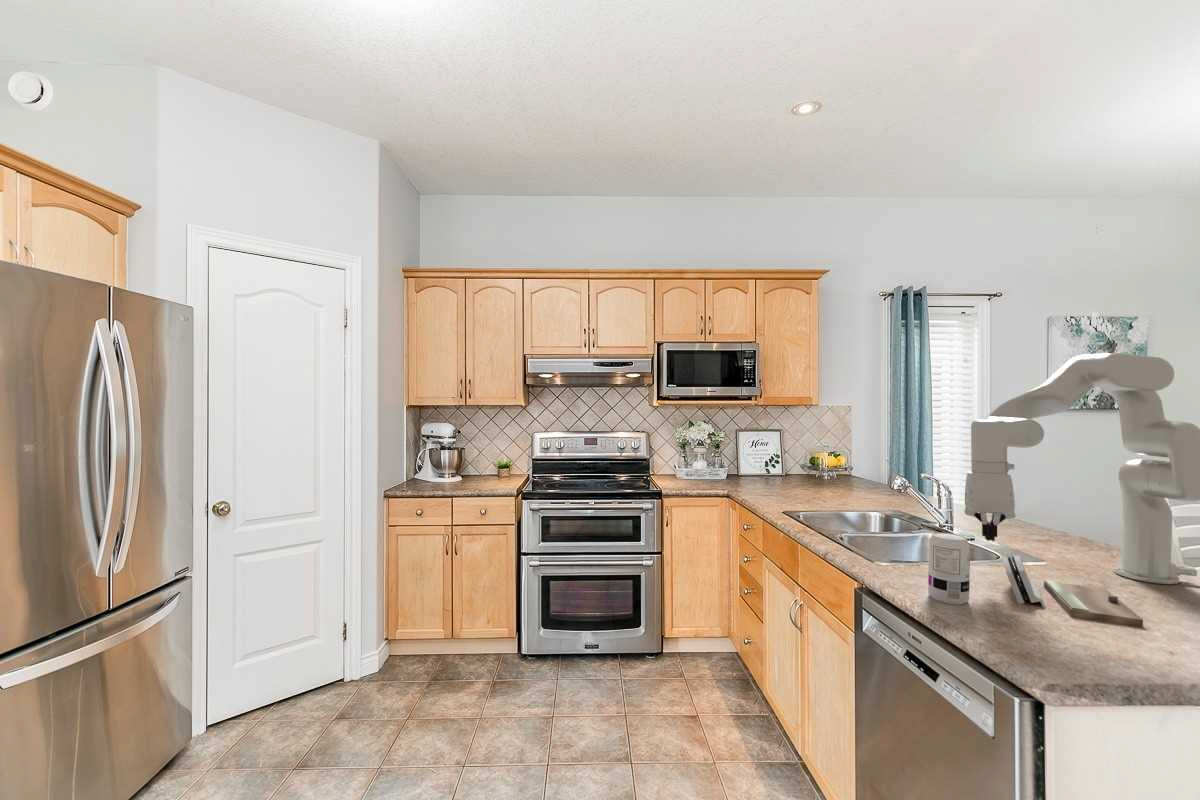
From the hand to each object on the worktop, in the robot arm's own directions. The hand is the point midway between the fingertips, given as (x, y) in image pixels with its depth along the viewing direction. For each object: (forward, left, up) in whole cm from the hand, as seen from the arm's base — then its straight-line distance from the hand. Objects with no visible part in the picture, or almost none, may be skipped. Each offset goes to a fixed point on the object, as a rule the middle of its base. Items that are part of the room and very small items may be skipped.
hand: (989, 539), depth 142 cm
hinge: (-6, +4, -12) cm, 14 cm away
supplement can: (+11, +16, -12) cm, 23 cm away
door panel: (-18, +5, -12) cm, 22 cm away
